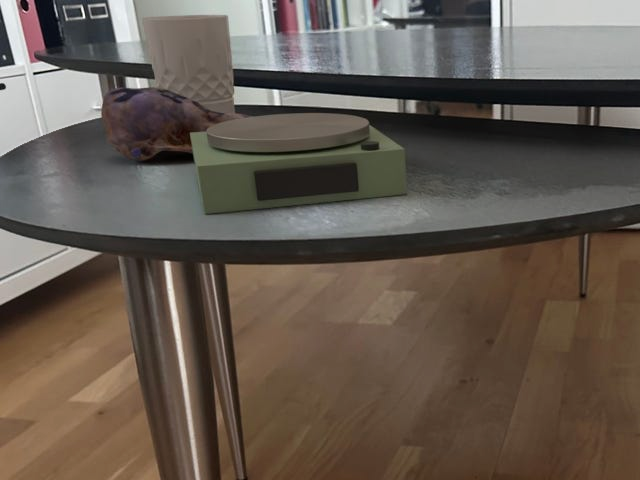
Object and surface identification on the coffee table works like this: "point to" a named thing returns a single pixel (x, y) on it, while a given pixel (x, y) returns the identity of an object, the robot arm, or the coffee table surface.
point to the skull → (155, 121)
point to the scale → (297, 174)
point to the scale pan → (288, 132)
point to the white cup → (193, 58)
